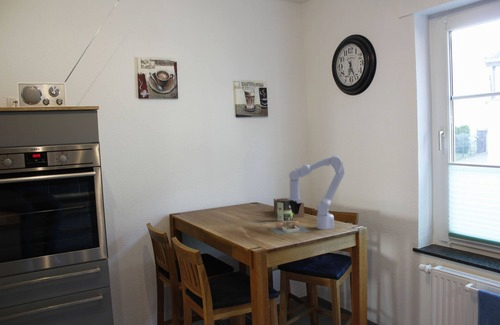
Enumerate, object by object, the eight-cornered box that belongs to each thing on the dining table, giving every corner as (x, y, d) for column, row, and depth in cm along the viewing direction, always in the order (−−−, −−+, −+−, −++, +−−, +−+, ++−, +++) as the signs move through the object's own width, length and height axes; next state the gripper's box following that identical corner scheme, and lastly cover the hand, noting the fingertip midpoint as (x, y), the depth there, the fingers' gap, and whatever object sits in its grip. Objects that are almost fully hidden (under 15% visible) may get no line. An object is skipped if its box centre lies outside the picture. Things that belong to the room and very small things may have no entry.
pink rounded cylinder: (297, 226, 233) (297, 220, 233) (299, 227, 230) (299, 222, 229) (291, 227, 233) (291, 221, 232) (293, 228, 229) (293, 222, 228)
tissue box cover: (304, 217, 265) (303, 203, 264) (283, 219, 262) (283, 204, 261) (292, 210, 290) (292, 197, 289) (274, 212, 287) (273, 198, 287)
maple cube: (289, 227, 232) (289, 220, 232) (291, 228, 228) (291, 221, 228) (283, 227, 232) (283, 221, 231) (285, 229, 228) (285, 222, 227)
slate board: (301, 227, 236) (301, 225, 236) (311, 233, 220) (311, 231, 220) (269, 229, 231) (269, 228, 231) (277, 236, 216) (277, 234, 216)
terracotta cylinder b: (281, 227, 231) (281, 221, 231) (283, 229, 227) (283, 223, 227) (275, 228, 230) (275, 222, 230) (277, 229, 227) (277, 223, 226)
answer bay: (295, 228, 229) (295, 225, 228) (299, 231, 221) (299, 228, 221) (281, 229, 227) (281, 227, 227) (285, 232, 219) (285, 229, 219)
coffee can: (294, 219, 257) (294, 198, 256) (290, 223, 248) (290, 201, 247) (279, 219, 261) (279, 198, 260) (275, 222, 251) (274, 200, 250)
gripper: (284, 189, 236) (285, 211, 237) (292, 192, 222) (292, 216, 223) (295, 188, 237) (296, 210, 238) (303, 191, 223) (304, 215, 224)
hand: (295, 213), depth 231 cm, fingers open, 4 cm apart
